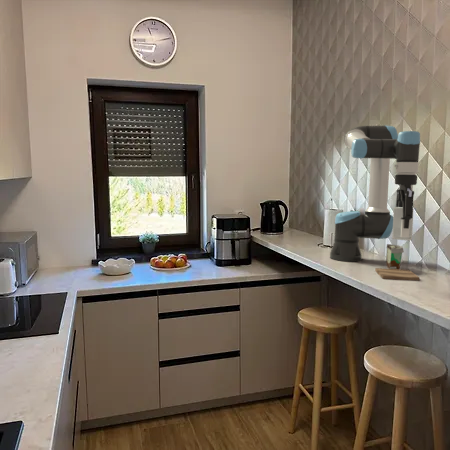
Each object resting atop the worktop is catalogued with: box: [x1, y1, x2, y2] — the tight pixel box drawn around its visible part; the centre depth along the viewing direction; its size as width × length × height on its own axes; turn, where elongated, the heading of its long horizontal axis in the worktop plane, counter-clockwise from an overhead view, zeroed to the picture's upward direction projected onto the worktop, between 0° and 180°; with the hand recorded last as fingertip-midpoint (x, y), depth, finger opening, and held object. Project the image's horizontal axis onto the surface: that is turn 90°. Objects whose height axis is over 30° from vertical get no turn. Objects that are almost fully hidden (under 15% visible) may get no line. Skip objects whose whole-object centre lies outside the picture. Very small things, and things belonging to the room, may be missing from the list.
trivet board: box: [374, 267, 420, 282], centre depth 174 cm, size 14×14×1 cm
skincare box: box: [392, 206, 414, 241], centre depth 157 cm, size 6×4×12 cm
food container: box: [385, 243, 405, 269], centre depth 187 cm, size 12×6×10 cm, turn 168°
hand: (401, 235), depth 157 cm, fingers closed on skincare box, 7 cm apart
